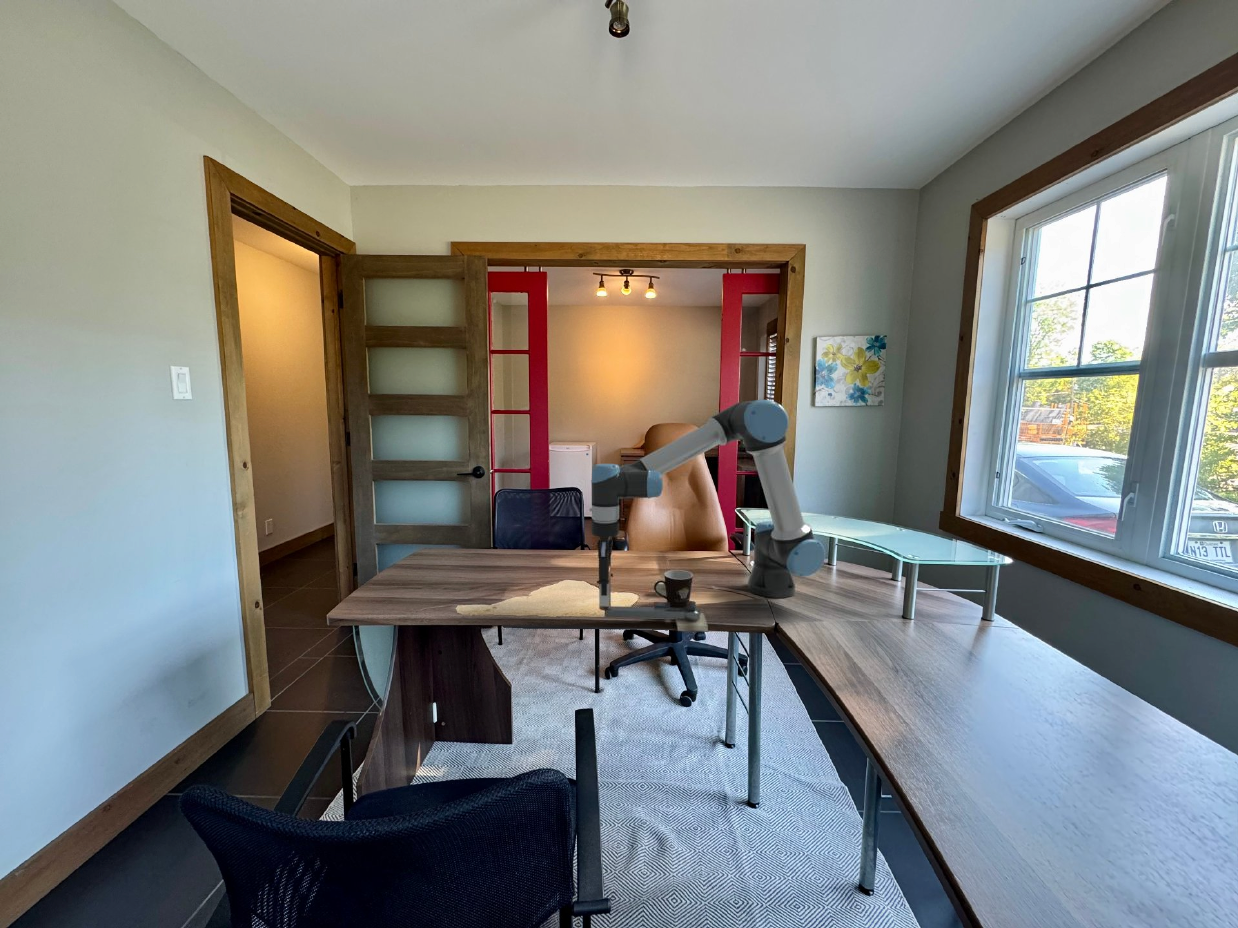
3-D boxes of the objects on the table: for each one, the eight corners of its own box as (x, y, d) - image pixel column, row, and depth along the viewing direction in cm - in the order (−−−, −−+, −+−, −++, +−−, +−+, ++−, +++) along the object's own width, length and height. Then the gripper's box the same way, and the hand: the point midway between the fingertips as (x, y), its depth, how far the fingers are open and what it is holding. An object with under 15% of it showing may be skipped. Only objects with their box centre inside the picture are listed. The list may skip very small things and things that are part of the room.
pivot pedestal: (703, 618, 133) (703, 597, 133) (707, 631, 125) (708, 608, 125) (675, 618, 134) (675, 596, 133) (677, 630, 126) (678, 607, 125)
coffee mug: (691, 601, 146) (692, 570, 145) (693, 612, 137) (693, 579, 136) (654, 599, 147) (654, 569, 146) (653, 611, 139) (653, 578, 138)
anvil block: (685, 593, 153) (686, 581, 152) (686, 596, 150) (686, 584, 150) (655, 592, 153) (655, 581, 153) (655, 595, 150) (655, 583, 150)
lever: (698, 612, 133) (699, 563, 132) (700, 622, 127) (702, 570, 125) (600, 610, 134) (600, 561, 133) (598, 620, 128) (598, 568, 127)
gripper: (594, 514, 136) (594, 591, 138) (587, 526, 120) (587, 614, 122) (620, 514, 136) (620, 592, 138) (617, 527, 120) (616, 615, 122)
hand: (604, 602), depth 130 cm, fingers closed on lever, 3 cm apart
